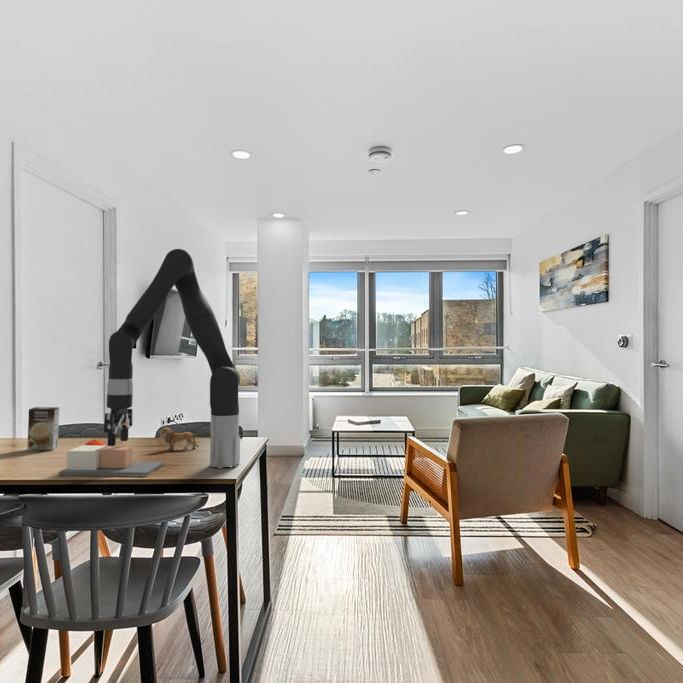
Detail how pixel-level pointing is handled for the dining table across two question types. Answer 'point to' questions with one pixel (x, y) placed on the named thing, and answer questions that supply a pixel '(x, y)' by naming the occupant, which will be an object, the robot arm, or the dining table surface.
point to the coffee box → (43, 428)
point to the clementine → (95, 442)
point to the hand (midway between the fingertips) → (118, 443)
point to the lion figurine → (176, 437)
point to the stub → (116, 457)
